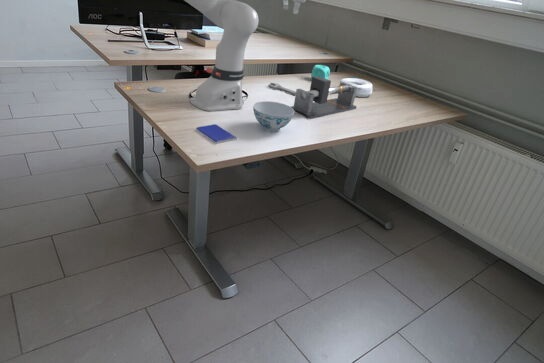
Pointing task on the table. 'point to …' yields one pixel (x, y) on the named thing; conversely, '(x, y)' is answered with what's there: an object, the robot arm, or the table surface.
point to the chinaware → (272, 115)
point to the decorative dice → (320, 71)
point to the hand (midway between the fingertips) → (290, 11)
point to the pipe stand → (337, 105)
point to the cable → (359, 86)
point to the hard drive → (216, 134)
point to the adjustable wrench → (281, 88)
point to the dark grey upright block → (321, 85)
